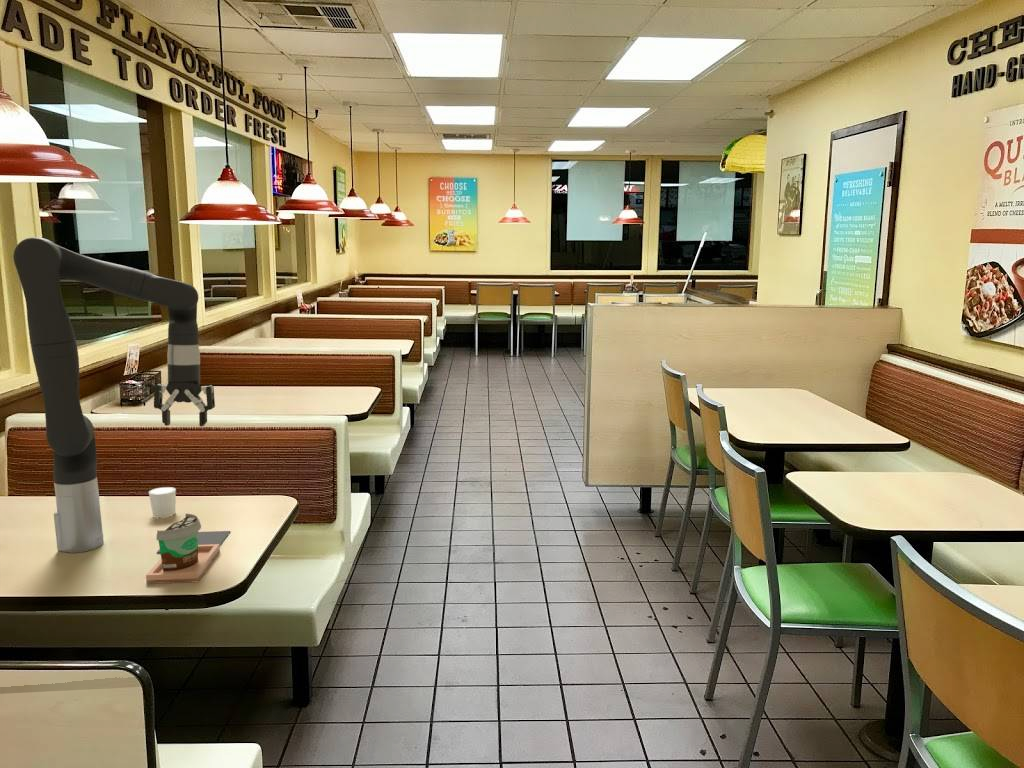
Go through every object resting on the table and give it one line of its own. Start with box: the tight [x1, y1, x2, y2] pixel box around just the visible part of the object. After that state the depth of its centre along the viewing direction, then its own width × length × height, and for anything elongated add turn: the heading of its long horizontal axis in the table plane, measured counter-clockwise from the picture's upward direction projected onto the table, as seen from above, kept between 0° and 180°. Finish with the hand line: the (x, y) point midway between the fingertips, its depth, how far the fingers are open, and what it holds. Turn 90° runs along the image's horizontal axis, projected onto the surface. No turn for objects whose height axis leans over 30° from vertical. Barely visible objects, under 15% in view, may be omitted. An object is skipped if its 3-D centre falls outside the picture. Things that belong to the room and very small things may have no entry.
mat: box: [156, 530, 231, 554], centre depth 193 cm, size 14×13×1 cm
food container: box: [156, 513, 202, 571], centre depth 177 cm, size 12×6×10 cm, turn 171°
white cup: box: [148, 486, 177, 518], centre depth 213 cm, size 7×7×7 cm
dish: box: [145, 544, 221, 585], centre depth 178 cm, size 11×17×2 cm, turn 5°
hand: (184, 425), depth 196 cm, fingers open, 8 cm apart
